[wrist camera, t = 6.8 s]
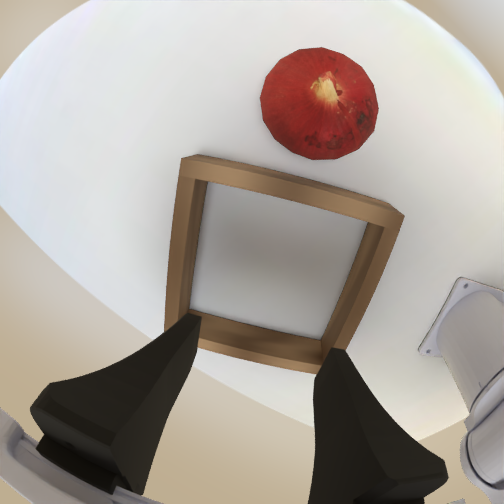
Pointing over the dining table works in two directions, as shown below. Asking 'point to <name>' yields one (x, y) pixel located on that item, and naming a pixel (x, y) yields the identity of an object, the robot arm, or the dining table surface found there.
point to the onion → (319, 104)
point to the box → (295, 189)
